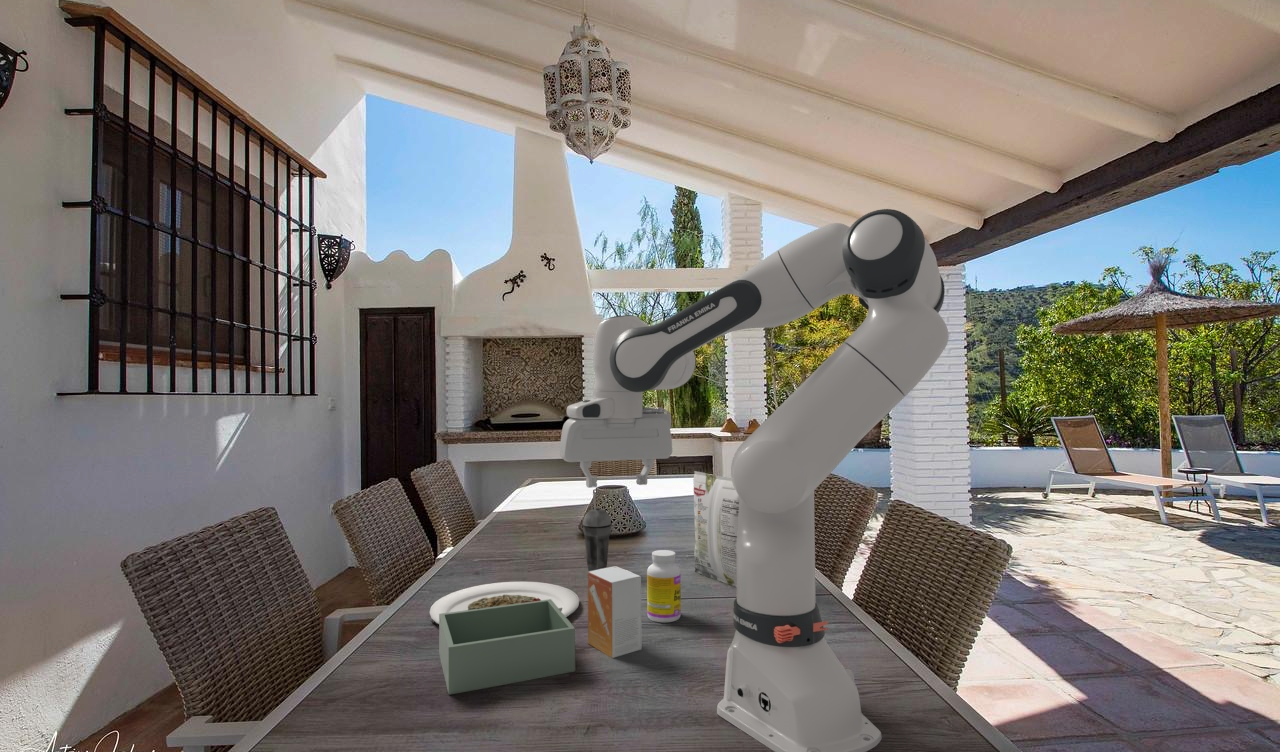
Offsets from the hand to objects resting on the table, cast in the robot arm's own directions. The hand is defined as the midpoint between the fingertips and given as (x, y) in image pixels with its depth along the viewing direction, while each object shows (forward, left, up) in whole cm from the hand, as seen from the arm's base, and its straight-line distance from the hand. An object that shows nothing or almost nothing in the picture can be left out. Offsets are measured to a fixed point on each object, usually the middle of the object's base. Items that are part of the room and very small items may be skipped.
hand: (617, 485), depth 115 cm
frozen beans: (+26, -35, -29) cm, 52 cm away
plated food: (+27, +15, -29) cm, 42 cm away
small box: (0, +1, -29) cm, 29 cm away
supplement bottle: (+10, -13, -29) cm, 33 cm away
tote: (+1, +20, -28) cm, 34 cm away
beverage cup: (+46, -11, -29) cm, 55 cm away
